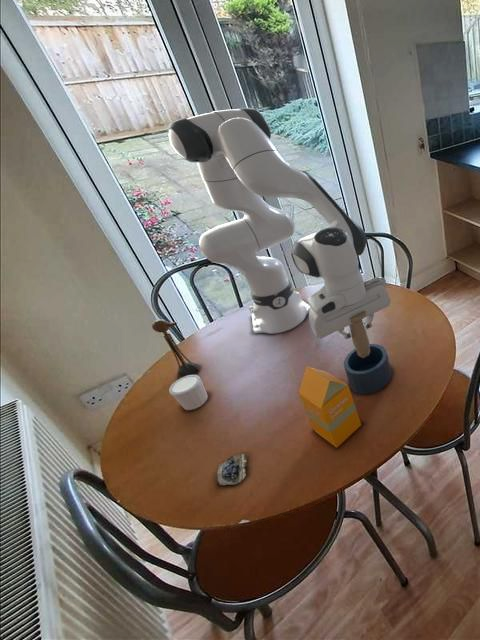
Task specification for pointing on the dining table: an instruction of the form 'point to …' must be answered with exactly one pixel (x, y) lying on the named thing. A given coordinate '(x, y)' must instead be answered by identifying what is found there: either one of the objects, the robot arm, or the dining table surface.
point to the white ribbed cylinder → (189, 392)
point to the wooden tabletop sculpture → (185, 367)
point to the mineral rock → (232, 470)
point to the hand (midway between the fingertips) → (358, 332)
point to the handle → (359, 335)
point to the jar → (368, 370)
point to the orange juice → (329, 406)
